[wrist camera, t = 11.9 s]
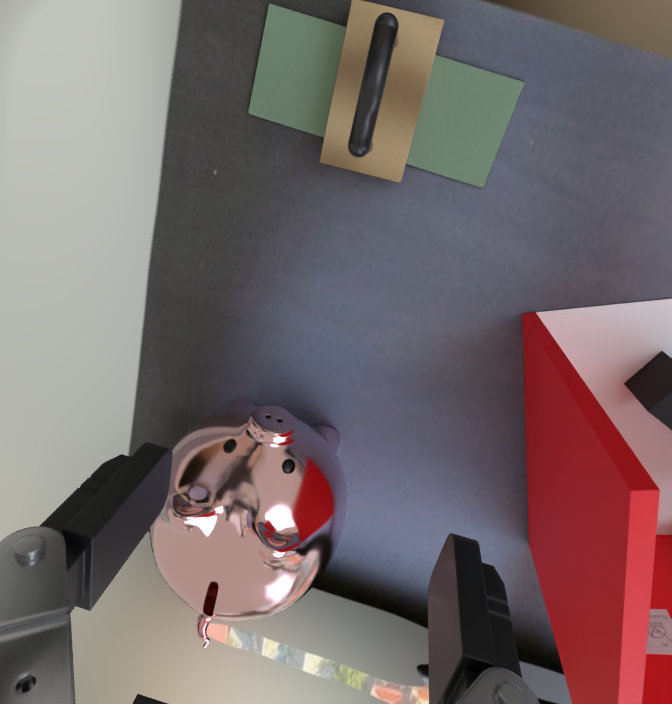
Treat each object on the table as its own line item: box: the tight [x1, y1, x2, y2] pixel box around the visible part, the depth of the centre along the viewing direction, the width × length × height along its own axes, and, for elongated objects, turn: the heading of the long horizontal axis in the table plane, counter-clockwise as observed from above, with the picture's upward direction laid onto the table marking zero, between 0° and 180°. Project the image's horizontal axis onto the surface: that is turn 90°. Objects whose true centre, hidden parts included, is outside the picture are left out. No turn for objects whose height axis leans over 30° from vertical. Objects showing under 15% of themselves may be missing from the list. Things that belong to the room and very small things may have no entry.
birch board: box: [319, 0, 444, 183], centre depth 32 cm, size 10×6×6 cm, turn 167°
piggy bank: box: [150, 397, 346, 649], centre depth 40 cm, size 15×18×16 cm
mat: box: [248, 3, 525, 188], centre depth 35 cm, size 18×7×1 cm, turn 73°
